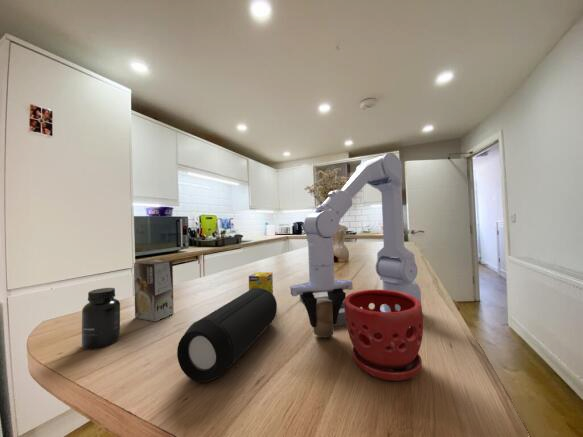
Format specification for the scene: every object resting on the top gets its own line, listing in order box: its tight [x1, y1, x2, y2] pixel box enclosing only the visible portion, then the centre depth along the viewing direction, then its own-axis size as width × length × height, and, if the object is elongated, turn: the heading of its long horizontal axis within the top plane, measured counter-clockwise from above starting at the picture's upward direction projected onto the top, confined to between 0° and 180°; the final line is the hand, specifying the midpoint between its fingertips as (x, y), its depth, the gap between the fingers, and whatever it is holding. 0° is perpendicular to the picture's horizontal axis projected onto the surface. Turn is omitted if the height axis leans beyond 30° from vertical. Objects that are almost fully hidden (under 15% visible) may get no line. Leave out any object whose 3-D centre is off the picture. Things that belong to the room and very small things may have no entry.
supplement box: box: [248, 271, 274, 295], centre depth 71 cm, size 6×6×11 cm
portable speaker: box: [176, 288, 278, 383], centre depth 50 cm, size 26×10×10 cm, turn 163°
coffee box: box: [133, 259, 175, 322], centre depth 69 cm, size 9×6×16 cm
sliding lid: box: [313, 292, 328, 299], centre depth 75 cm, size 10×11×4 cm
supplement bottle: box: [81, 287, 121, 351], centre depth 53 cm, size 7×7×12 cm
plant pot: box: [344, 288, 424, 382], centre depth 42 cm, size 13×13×12 cm
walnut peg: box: [313, 298, 334, 338], centre depth 53 cm, size 4×4×7 cm
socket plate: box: [299, 295, 347, 327], centre depth 70 cm, size 10×22×3 cm, turn 15°
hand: (323, 323), depth 53 cm, fingers closed on walnut peg, 4 cm apart
